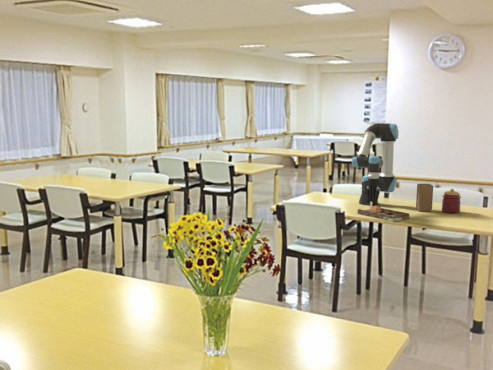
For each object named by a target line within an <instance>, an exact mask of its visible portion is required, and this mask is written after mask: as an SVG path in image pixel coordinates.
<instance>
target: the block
mask: <svg viewBox="0 0 493 370" xmlns="http://www.w3.org/2000/svg"><path fill="white" fill-rule="evenodd" d="M433 197H434V185H432V184H431V183H417V185H416V199H415V200H416V201H415V202H416V203H415V209H416V210H417V212H424V213H425V212H432V211H433Z"/></svg>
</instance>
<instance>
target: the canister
mask: <svg viewBox="0 0 493 370" xmlns="http://www.w3.org/2000/svg"><path fill="white" fill-rule="evenodd" d="M461 198H462V197H461V193H460V192H458V191H455V189H454V188H450V189H449V190H446V191H445V192H443V195H442V203H441V212H442V213H445V214H460V213H461V202H462V201H461Z"/></svg>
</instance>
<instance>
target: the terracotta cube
mask: <svg viewBox="0 0 493 370" xmlns="http://www.w3.org/2000/svg"><path fill="white" fill-rule="evenodd" d="M381 208H382V207H381V206H379V205H375V206H371V209H370V208H369V209H370V212H375V213H380V212H381Z"/></svg>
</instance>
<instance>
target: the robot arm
mask: <svg viewBox="0 0 493 370" xmlns="http://www.w3.org/2000/svg"><path fill="white" fill-rule="evenodd" d="M376 139H380V142H381V144H382V147H381V149H382V150H381V157H380V156H377V155H374V156H372V155H371V156H369V154H370V151H371V148H372V145H373V143H374V141H375V140H376ZM397 139H399V127H398V125H397V124H396V123H392V122H391V123H389V122H388V123H387V122H385V123H382V122H381V123H380V122H379V123H377V122H376V123H373V124H371V125H369V126H368V127H367V128H366V129H365V131H364V133H363V139H362V142H361V145H360V147H359V150H358V152H357V155H356V156H353V157H352V159H351V166H352V167H354V168H361V169H362V168H364V169H365V168H366V169H367V168H368V175H363V176H362V179H361V195H360V197H359V200H358V204H360V205H363V206H364V205H365V206H369V209H371V206H378V204H379V196H380V192H381V193H393V192H395V190H396V187H397V178H396V177H395V174H394V173H393V171H394V170H393V169H394V146H395V145H394V144H395V143H396V141H397ZM380 168H381V172H380Z"/></svg>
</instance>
